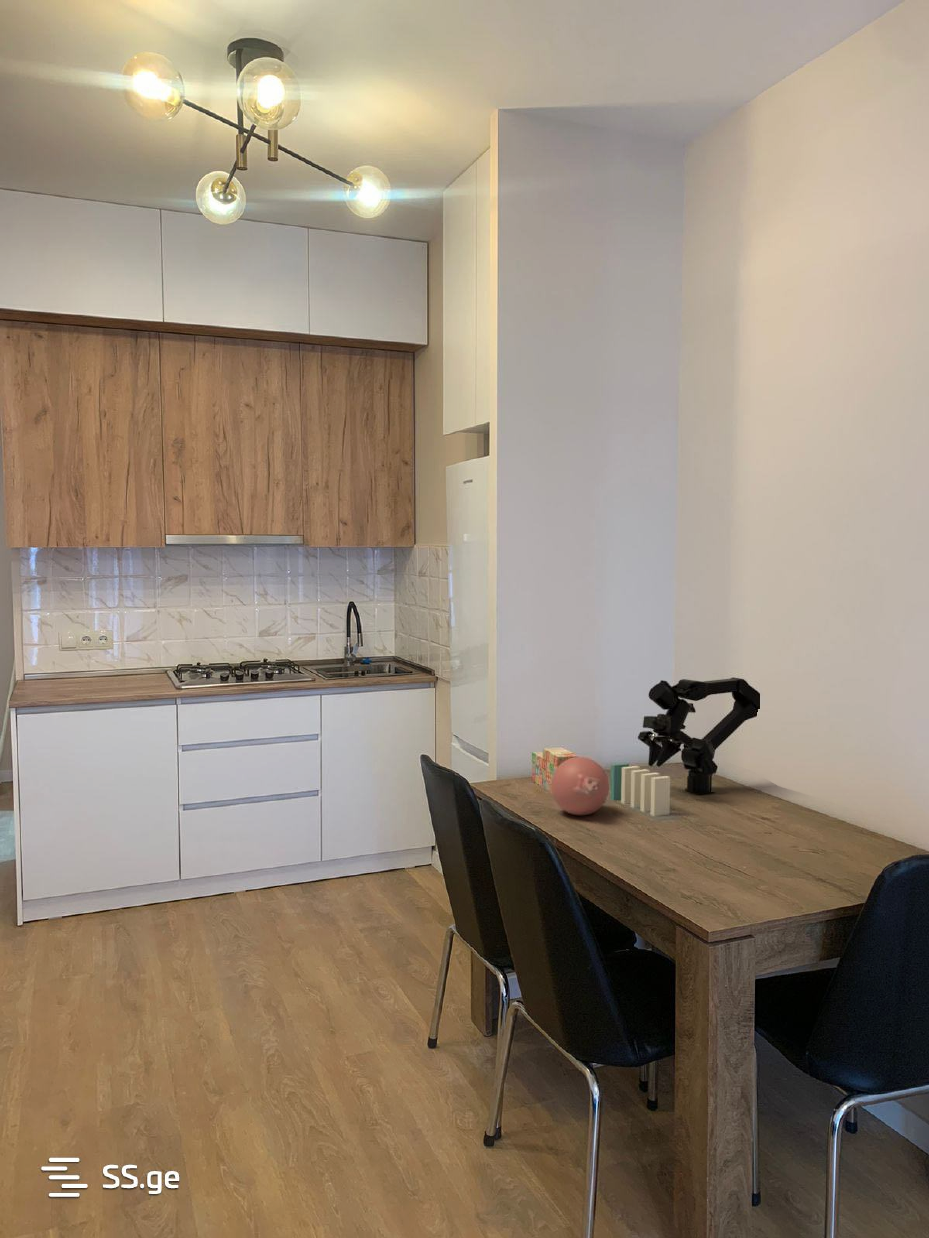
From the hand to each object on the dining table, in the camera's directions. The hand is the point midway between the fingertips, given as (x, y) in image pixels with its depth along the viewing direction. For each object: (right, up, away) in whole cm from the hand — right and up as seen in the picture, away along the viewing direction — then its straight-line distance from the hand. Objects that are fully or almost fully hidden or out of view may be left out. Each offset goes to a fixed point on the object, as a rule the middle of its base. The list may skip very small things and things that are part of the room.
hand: (653, 765), depth 263 cm
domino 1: (-7, -10, -3) cm, 12 cm away
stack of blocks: (-27, -9, +14) cm, 32 cm away
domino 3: (-3, -10, -11) cm, 15 cm away
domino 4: (-1, -11, -15) cm, 18 cm away
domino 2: (-5, -10, -7) cm, 13 cm away
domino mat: (-5, -10, -7) cm, 13 cm away
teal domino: (-10, -10, +1) cm, 14 cm away
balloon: (-23, -11, -17) cm, 30 cm away
